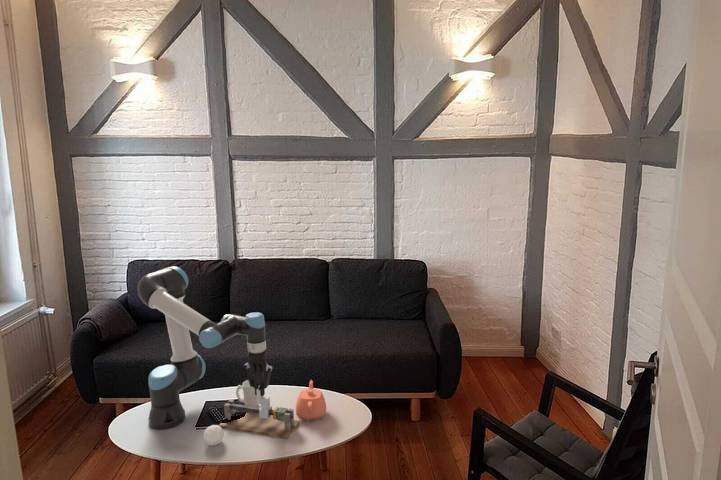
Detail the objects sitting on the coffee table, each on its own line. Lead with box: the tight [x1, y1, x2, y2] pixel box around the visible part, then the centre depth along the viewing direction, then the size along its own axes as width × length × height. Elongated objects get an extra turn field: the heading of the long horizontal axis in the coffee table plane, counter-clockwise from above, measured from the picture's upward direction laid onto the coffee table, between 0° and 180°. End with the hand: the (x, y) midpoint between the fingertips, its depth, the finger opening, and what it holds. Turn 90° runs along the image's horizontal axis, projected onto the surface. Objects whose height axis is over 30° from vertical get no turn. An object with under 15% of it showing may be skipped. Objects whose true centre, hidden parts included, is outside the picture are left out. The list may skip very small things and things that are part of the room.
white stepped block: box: [259, 395, 273, 419], centre depth 222 cm, size 4×4×8 cm
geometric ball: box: [203, 424, 225, 446], centre depth 212 cm, size 8×8×8 cm
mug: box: [235, 379, 260, 408], centre depth 238 cm, size 10×7×12 cm, turn 88°
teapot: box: [295, 379, 327, 422], centre depth 232 cm, size 13×20×12 cm, turn 4°
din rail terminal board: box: [218, 399, 301, 440], centre depth 224 cm, size 32×12×9 cm, turn 73°
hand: (260, 402), depth 222 cm, fingers closed
